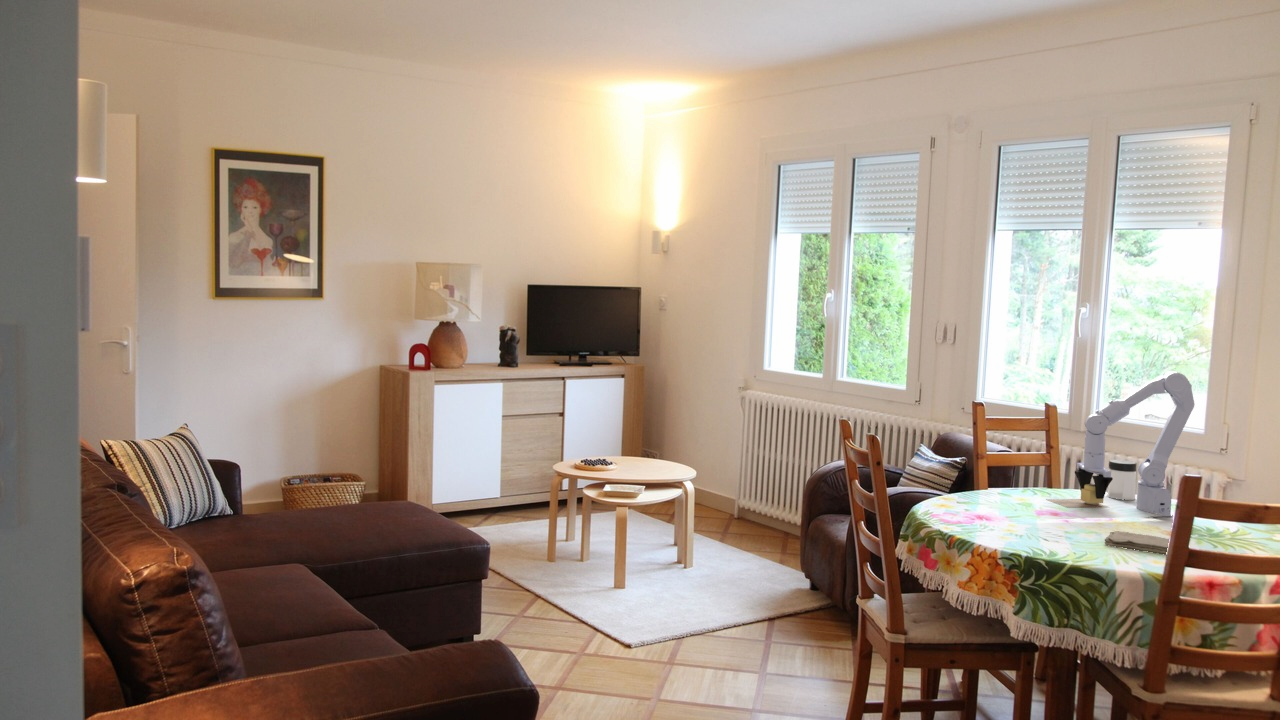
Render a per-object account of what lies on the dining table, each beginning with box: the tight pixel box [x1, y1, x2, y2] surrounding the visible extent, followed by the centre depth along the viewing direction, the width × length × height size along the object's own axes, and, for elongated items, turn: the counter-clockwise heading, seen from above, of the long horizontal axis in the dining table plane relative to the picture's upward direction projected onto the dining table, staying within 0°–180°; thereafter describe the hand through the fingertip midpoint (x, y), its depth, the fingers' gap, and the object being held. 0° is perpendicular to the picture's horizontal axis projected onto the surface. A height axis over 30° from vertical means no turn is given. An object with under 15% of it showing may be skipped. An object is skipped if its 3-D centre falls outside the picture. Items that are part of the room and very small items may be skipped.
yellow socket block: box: [1080, 482, 1104, 504], centre depth 299 cm, size 5×5×6 cm
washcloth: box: [1104, 530, 1170, 556], centre depth 252 cm, size 12×18×3 cm, turn 55°
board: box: [1045, 498, 1109, 509], centre depth 300 cm, size 12×14×1 cm
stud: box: [1085, 502, 1100, 506], centre depth 299 cm, size 4×4×4 cm
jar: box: [1106, 459, 1137, 501], centre depth 315 cm, size 9×8×12 cm
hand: (1092, 495), depth 299 cm, fingers open, 7 cm apart
